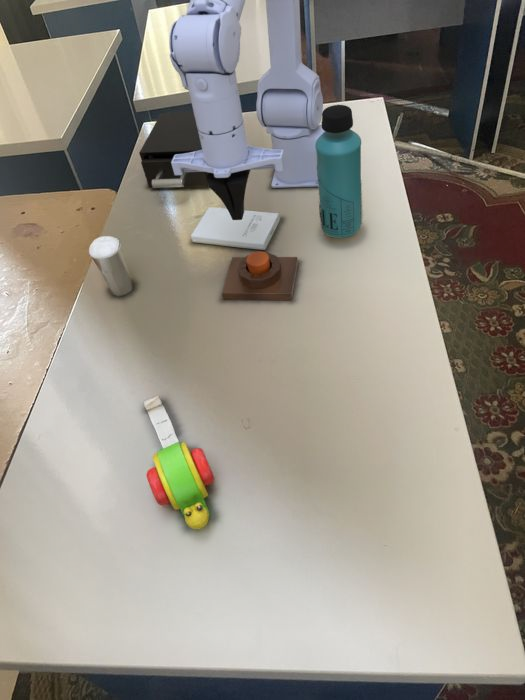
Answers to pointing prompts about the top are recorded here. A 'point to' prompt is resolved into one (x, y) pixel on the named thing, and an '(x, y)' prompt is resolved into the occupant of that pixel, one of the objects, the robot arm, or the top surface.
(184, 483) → the toy measuring tape
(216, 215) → the hard drive
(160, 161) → the black drawer
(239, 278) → the control block
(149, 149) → the small drawer cabinet
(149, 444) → the top surface
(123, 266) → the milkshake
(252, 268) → the release button
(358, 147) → the beverage bottle
